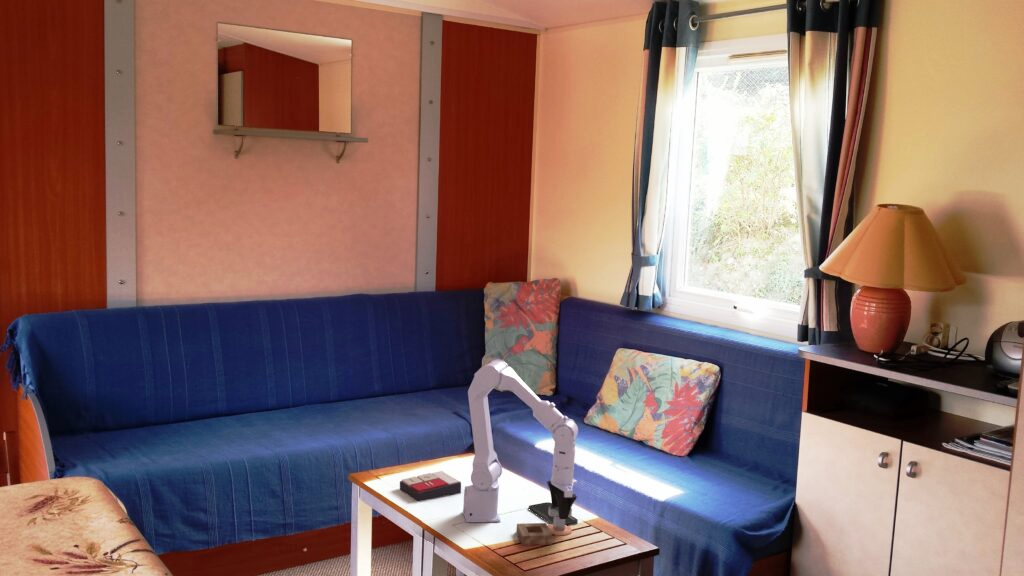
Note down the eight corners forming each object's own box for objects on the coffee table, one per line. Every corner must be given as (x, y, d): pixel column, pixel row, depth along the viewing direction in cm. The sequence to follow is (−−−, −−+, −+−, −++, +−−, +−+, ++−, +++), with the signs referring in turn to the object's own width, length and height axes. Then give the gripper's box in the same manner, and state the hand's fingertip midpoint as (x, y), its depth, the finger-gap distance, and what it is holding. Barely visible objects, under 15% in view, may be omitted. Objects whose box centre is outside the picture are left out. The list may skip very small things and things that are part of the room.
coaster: (549, 535, 239) (549, 534, 239) (543, 525, 246) (543, 523, 246) (574, 535, 240) (574, 533, 240) (567, 524, 247) (567, 523, 247)
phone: (549, 501, 261) (579, 520, 248) (549, 505, 261) (579, 524, 249) (526, 505, 257) (556, 525, 244) (526, 509, 257) (555, 529, 244)
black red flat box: (399, 478, 265) (442, 468, 274) (399, 492, 266) (442, 481, 275) (417, 490, 256) (461, 479, 265) (417, 504, 257) (461, 493, 266)
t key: (549, 530, 241) (550, 509, 240) (546, 526, 243) (548, 505, 243) (570, 530, 242) (572, 509, 241) (568, 526, 245) (569, 505, 244)
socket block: (522, 545, 232) (523, 536, 231) (516, 532, 240) (516, 523, 239) (552, 544, 233) (552, 535, 233) (545, 531, 241) (545, 523, 241)
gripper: (584, 474, 234) (581, 523, 236) (570, 456, 248) (567, 502, 250) (558, 474, 233) (555, 524, 235) (546, 456, 247) (542, 503, 249)
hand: (559, 513), depth 242 cm, fingers open, 7 cm apart
